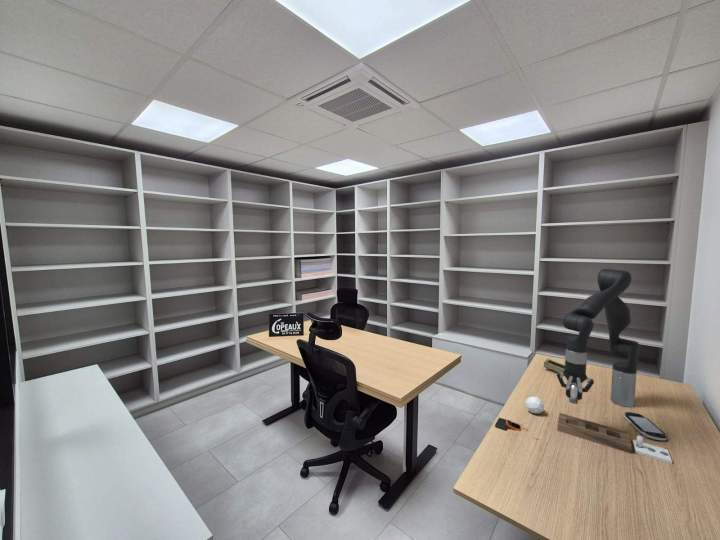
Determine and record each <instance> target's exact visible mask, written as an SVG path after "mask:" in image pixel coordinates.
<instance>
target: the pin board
mask: <svg viewBox="0 0 720 540" xmlns="http://www.w3.org/2000/svg"><path fill="white" fill-rule="evenodd" d="M557 420H558V421H557V432H560V433H564V434H566V435H567V434H568V435H570V436H574V437H576V438H579V439H584V440H586V441H590V442H593V443H596V444H600V445H602V446H606V447H608V448H611V449H616V450H619V451H623V452H626V453H628V454H631V453H632V443H631V439H630V434H629V431H627V430H622V429H619V428H615V427H613V426H607V425H604V424H601V423H597V422H594V421H591V420H587V419H582V418H580V417H576V416H573V415H569V414H564V413H561V412H559V413H558V419H557Z"/></svg>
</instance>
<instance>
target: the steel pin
mask: <svg viewBox="0 0 720 540" xmlns="http://www.w3.org/2000/svg"><path fill="white" fill-rule="evenodd" d="M578 392H579V389H578V384H575V383H571V385H570V395H569V398H568V402H569V403H571V404H575V405H578V404H579V400H578Z"/></svg>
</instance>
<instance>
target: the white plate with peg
mask: <svg viewBox="0 0 720 540" xmlns="http://www.w3.org/2000/svg"><path fill="white" fill-rule="evenodd" d="M632 444H633V447H634V452H635V454H639V455H641V456H644V457H648V458H651V459H654V460H657V461H660V462H664V463H668V464H671V465H672V464H673V460H672V457H671V455H670V452H669V451H668V449H667V448H663V447H659V446H656V445H652V444H649V443H646V442H644V436H643V435H636V439H632Z"/></svg>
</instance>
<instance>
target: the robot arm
mask: <svg viewBox="0 0 720 540" xmlns="http://www.w3.org/2000/svg"><path fill="white" fill-rule="evenodd" d="M597 284H598V285H597V286H598V288H599V291H600V292H596V293H594V294H591V295H590V296H588V297H587V298H585V300H584V301H583V302H582V303H581V305H580V306H578V307H576V308H574V309H573V310H570V311H569V312H568V313H567V314H566V315H565V316H564V318H562V325H563V326H564V328H565V329H566V330H569V331H573V332H578V335H569V336H567V338H566V349H565V354H564V355H565V356H564V360H565V361H564V365H565V370H564V371H563V372H556V378H557V379H558V382H559V383H560V386H561V387H562V388H565V396H566V397H567V399H569V395H570V385H571V383H575V384H578V389H579V392H578V401H580V400H582V399H583V393H588V392H589V391H590V389H591V388H592V386H593V385H594V383H595V381H594V378H590V377H588V376H587V363H588V362H587V361H588V360H587V358H588V356H587V347H588V341H589V339H590V337H591V333H592V331H593V329H594V321H593V319H595V318H597V316H598V315H599V314H600V313H601V312H602V310H603V309H604V314H605V320H606V323H607V329H608V336H609V337H608V341H609V350H610V352H611V354H612V355H615V356H616V357H617V356H618V357H622V358H624V359H625V358H626V359H627V360H625V361H622V360H621V361H620V360H619V361H613V363H612V371H611V387H610V401H611V402H612V403H614V404H616V405H618V406H622V407H627V408H628V407H629V408H633V407H634V406H635V400H636V398H635V397H636V389H637V387H636V385H637V384H636V383H637V371H638V365H639V364H638V363H639V355H640V344H639V342H638V341H635V340H633V339H632V340H631V339H627V338H623V337H620V334H621V333H623V331H624V330H626V329H627V328H628V327H629V326H630V324H631V321H632V318H631V311H630V308H629V306H628V305H627V304H626V303H625V302H624V301H623V300H622V299H621V298H620V297H619V295H621V294H623V293H624V292H625V291H626V290H627V289H628V288H629V287H630V285H631V284H632V274H631V273H630V272H629V271H627V270H622V269H614V268H601V270H599V272H598V273H597ZM563 377H564V378H565V379H566V380H567V381H566V383H565V381H564V379H563ZM585 381H586V385H585V386H584V387H583V385H582V384H583V383H584V382H585Z"/></svg>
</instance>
